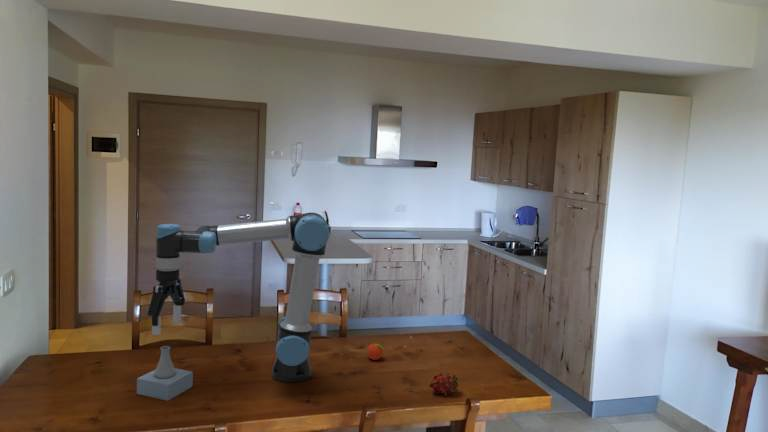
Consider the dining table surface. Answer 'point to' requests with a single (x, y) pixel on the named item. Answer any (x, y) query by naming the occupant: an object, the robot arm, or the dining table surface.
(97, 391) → the dining table surface
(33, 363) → the dining table surface
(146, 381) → the grey block
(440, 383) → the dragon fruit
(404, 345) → the dining table surface
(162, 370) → the flask
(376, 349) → the clementine
